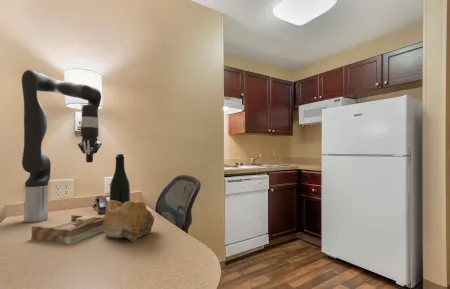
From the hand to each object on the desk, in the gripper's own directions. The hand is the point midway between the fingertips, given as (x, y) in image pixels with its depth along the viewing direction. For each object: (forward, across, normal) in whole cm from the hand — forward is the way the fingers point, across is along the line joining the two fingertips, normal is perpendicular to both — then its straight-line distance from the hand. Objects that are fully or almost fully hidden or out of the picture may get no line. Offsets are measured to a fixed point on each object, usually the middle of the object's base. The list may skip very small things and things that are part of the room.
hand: (89, 162), depth 117 cm
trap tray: (+29, +7, -15) cm, 33 cm away
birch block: (+26, +14, -15) cm, 33 cm away
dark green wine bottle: (+29, +4, +16) cm, 34 cm away
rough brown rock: (+29, +34, -10) cm, 46 cm away
